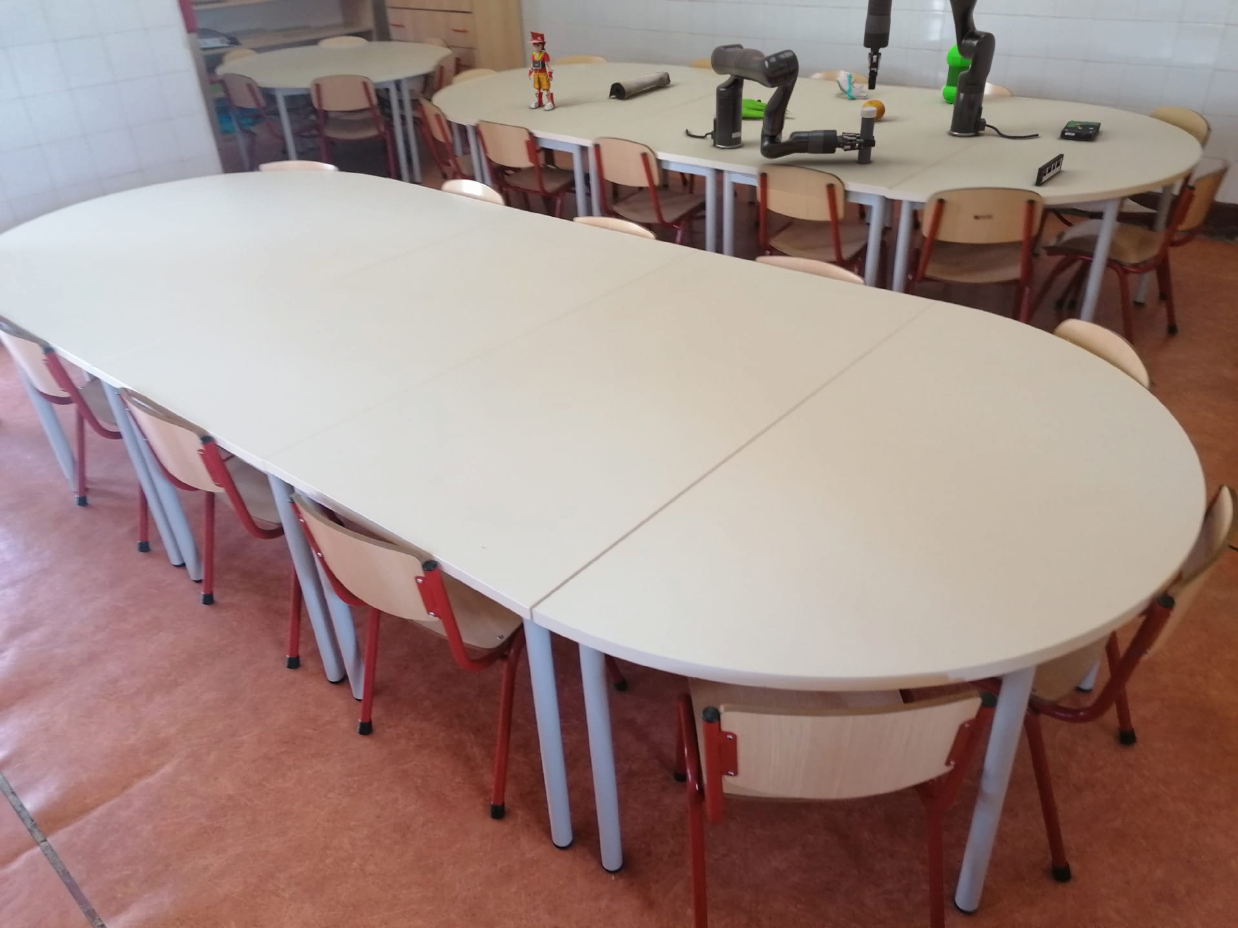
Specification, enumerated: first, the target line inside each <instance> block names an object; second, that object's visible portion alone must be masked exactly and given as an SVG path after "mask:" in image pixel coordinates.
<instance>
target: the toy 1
mask: <svg viewBox="0 0 1238 928" xmlns="http://www.w3.org/2000/svg"><path fill="white" fill-rule="evenodd" d="M529 33H530V35H531V36H528V37H527V38H528V39H529V40H528V41H527V43H529V44H530V43H531V44H532V48H533V50H534V51H533V52H532V55H531V58H530V59H531V63H530V66H528V74H527V75H528V76H527V77H528V79H529V80H531V75H532V74H533V84H532V85H533V86H532V87H533V88H534V89H535V90H536V92H534V95H535V97H536V100H535V101H533V102H531V105H530V108H531V109H535V108H538V107H542V106H544V101H543V100H544V99H543V95H544V92H546V94H545V97H546V99H547V103H546V104H545V106H544V110H546V111H549V110H553V109H554V107H555V106H556V105H555V99H554V92H551V91H550V90H551V86H552V84H551V82H552V81H553V80H554V77H553V73H554V71H555V70H554V69H552V68H551V63H550V61H551V59H550V58H551V57H550V54H549V53H548V52H547V50H546V48H545V46H546V44H547V41H545V35H544V33H543V32H542V33H539V32H535V31H529Z"/></svg>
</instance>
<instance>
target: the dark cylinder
mask: <svg viewBox="0 0 1238 928" xmlns="http://www.w3.org/2000/svg"><path fill="white" fill-rule="evenodd" d="M860 120H861V122H860V130H859V131H860V132H859V134H860V140H873V136H874V131H875V122H876V121H875V117H873V118H864V117H861V119H860ZM872 149H873V147H863V148H862V149H861V150H857V153H858V154H857V161H856V162H857V163H858V164H864V165H865V164H869V163H871V158H872Z"/></svg>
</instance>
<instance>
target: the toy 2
mask: <svg viewBox="0 0 1238 928" xmlns="http://www.w3.org/2000/svg"><path fill="white" fill-rule="evenodd" d="M766 105H767V102H766V103H765V102H762V100H761V99H757V100H755V99H752V98H742V118H755V119H763V116H764V110H765V107H766ZM786 112H789V109H787V110H786ZM792 118H793V117H791V116H786V117H785V119H792Z"/></svg>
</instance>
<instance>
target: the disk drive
mask: <svg viewBox="0 0 1238 928" xmlns="http://www.w3.org/2000/svg"><path fill="white" fill-rule="evenodd" d="M1101 125H1102V123H1101V122H1097V121H1096V122H1095V121H1079V120H1070V121H1068V122H1067V123H1066V124H1065V125H1064V127H1063V128H1062V129H1061V131H1060V136H1059V137H1060V139H1061V138H1062V139H1068V140H1077V141H1093V140H1094V138H1095V137H1096V136H1097V134H1098V132H1100V128H1101Z"/></svg>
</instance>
